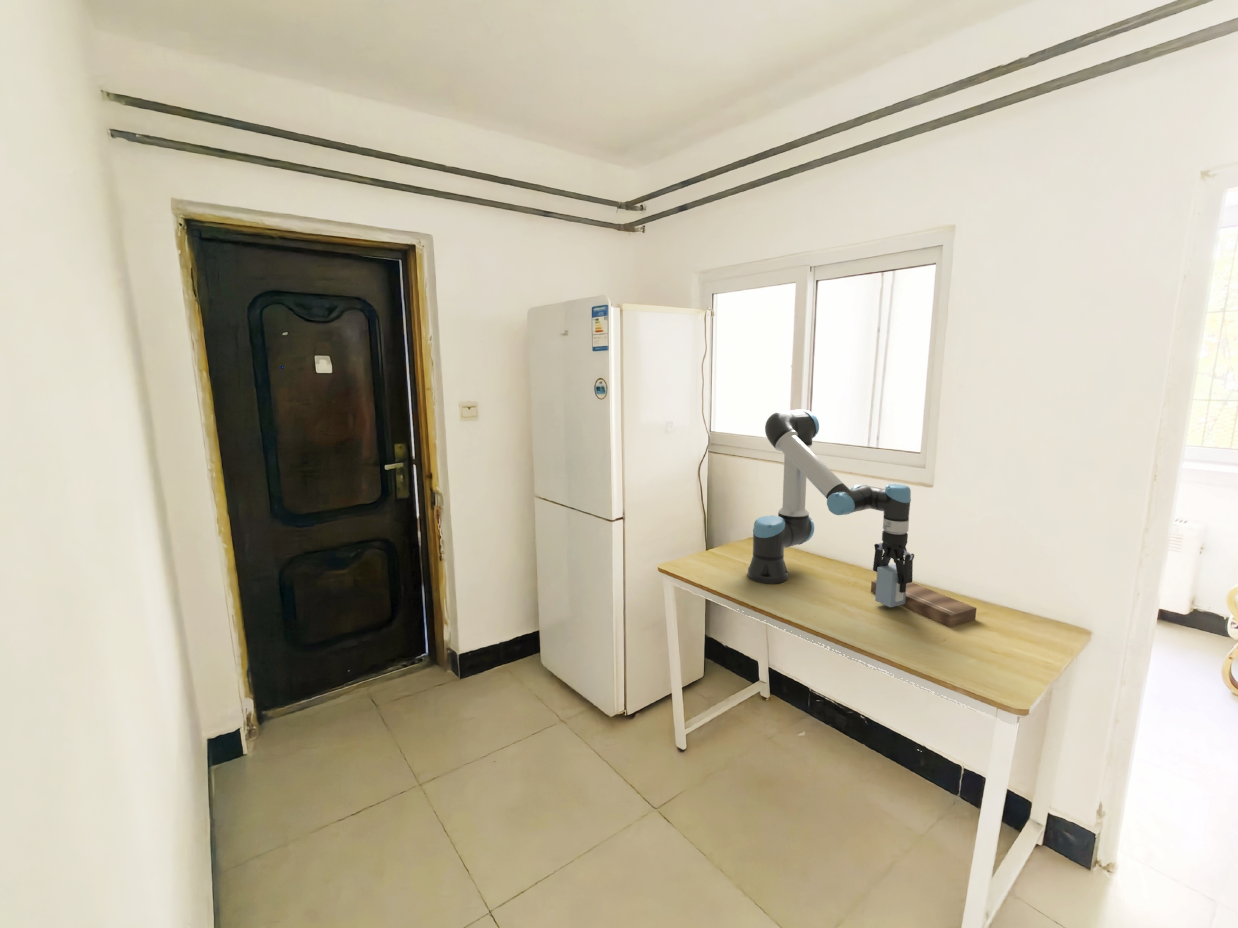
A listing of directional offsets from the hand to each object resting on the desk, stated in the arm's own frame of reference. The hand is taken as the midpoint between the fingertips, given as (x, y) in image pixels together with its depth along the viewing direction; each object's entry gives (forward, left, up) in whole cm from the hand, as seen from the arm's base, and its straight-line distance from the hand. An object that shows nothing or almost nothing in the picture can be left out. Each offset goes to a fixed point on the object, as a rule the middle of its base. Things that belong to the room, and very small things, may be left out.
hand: (890, 596), depth 180 cm
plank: (+3, +10, -4) cm, 12 cm away
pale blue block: (0, +2, -2) cm, 3 cm away
